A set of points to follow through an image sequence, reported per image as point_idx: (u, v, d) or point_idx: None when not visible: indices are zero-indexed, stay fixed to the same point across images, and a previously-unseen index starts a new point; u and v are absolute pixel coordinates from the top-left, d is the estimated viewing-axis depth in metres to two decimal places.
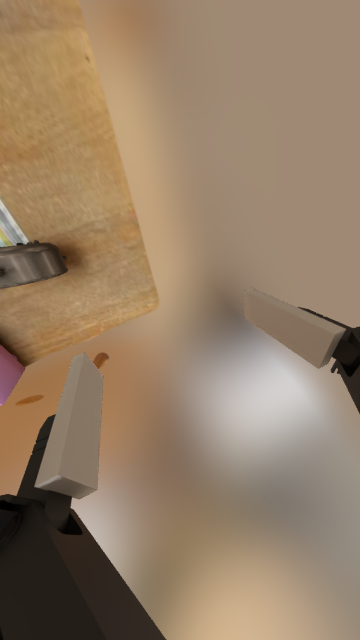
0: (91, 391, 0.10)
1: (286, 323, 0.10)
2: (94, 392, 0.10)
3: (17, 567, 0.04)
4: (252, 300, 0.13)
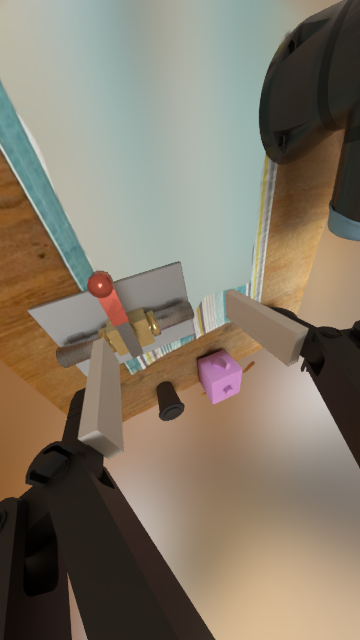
0: (111, 371, 0.11)
1: (260, 323, 0.11)
2: (113, 373, 0.11)
3: (68, 499, 0.05)
4: (232, 301, 0.13)
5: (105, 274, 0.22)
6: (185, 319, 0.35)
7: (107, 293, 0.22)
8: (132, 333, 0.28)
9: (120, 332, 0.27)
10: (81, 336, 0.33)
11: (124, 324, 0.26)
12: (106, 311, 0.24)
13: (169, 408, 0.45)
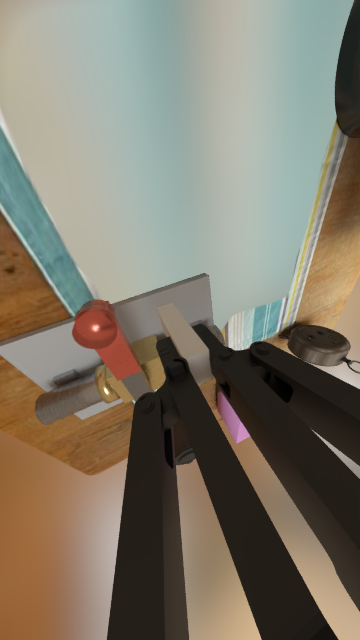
0: None
1: None
2: None
3: (185, 396, 0.07)
4: None
5: (104, 308, 0.13)
6: None
7: (108, 341, 0.13)
8: (145, 384, 0.19)
9: (127, 385, 0.18)
10: (73, 376, 0.24)
11: (134, 375, 0.17)
12: (106, 361, 0.15)
13: (185, 453, 0.36)
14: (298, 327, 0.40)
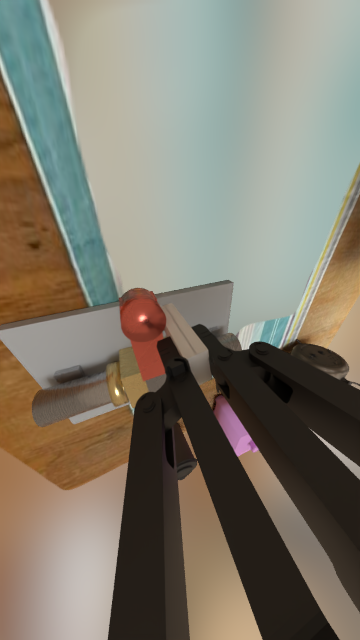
0: None
1: None
2: None
3: (186, 396, 0.07)
4: None
5: (153, 297, 0.12)
6: None
7: (153, 334, 0.11)
8: None
9: (150, 387, 0.16)
10: (77, 373, 0.22)
11: (160, 376, 0.16)
12: (138, 358, 0.13)
13: (180, 468, 0.34)
14: (299, 345, 0.42)
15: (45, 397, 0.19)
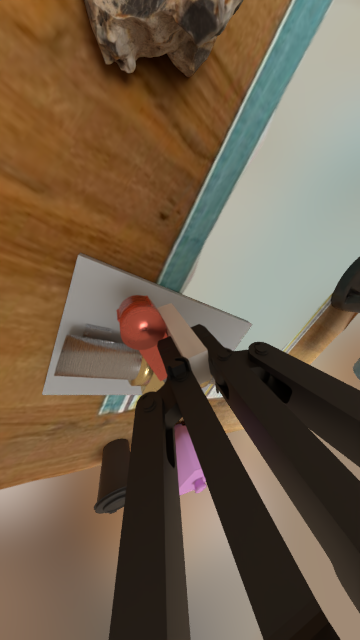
0: None
1: None
2: None
3: (187, 395, 0.07)
4: None
5: (148, 302, 0.11)
6: None
7: (156, 339, 0.11)
8: None
9: None
10: (107, 335, 0.20)
11: None
12: (150, 362, 0.14)
13: (122, 494, 0.28)
14: None
15: (78, 343, 0.16)
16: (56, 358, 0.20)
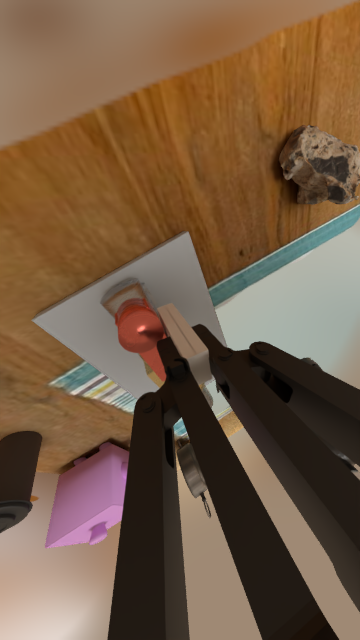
0: None
1: None
2: None
3: (186, 396, 0.07)
4: None
5: (145, 305, 0.11)
6: None
7: (155, 342, 0.11)
8: None
9: None
10: None
11: None
12: (150, 364, 0.14)
13: (7, 511, 0.19)
14: (191, 445, 0.48)
15: (145, 292, 0.16)
16: (89, 293, 0.18)
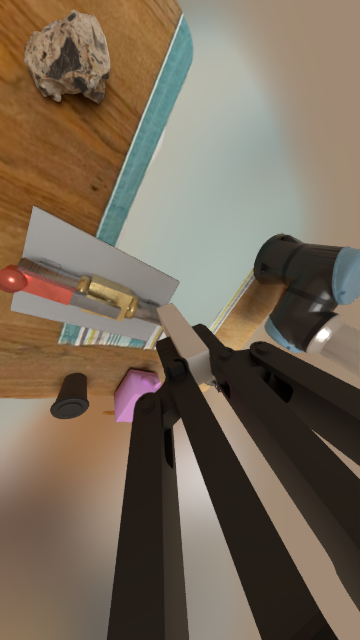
0: None
1: None
2: None
3: (185, 396, 0.07)
4: None
5: None
6: (156, 321, 0.39)
7: (19, 282, 0.21)
8: (90, 300, 0.27)
9: (79, 306, 0.27)
10: (57, 267, 0.30)
11: (75, 297, 0.26)
12: (46, 297, 0.24)
13: (72, 401, 0.38)
14: None
15: (32, 262, 0.26)
16: None
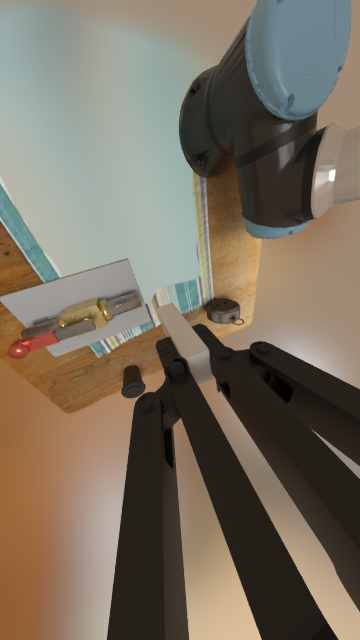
0: None
1: None
2: None
3: (185, 396, 0.07)
4: None
5: (11, 346, 0.33)
6: (133, 306, 0.42)
7: (21, 349, 0.32)
8: (66, 330, 0.35)
9: (65, 338, 0.36)
10: (45, 320, 0.40)
11: (57, 335, 0.35)
12: (44, 346, 0.35)
13: (130, 386, 0.52)
14: None
15: (27, 329, 0.37)
16: None
